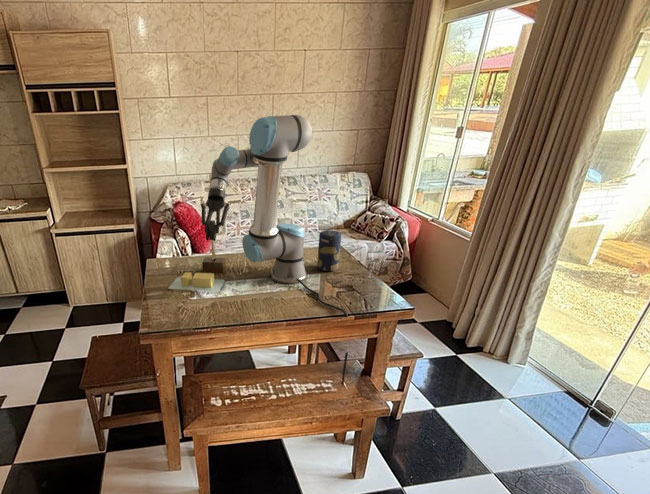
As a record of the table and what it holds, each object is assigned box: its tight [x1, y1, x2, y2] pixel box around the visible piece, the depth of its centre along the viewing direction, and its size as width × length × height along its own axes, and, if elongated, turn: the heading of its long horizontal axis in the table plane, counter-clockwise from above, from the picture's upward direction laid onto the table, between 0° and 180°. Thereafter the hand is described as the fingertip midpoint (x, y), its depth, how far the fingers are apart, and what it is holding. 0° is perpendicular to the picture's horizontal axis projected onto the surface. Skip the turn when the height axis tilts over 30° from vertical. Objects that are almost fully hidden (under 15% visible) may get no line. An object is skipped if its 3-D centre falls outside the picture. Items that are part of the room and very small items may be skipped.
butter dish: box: [168, 277, 225, 292], centre depth 175 cm, size 22×12×1 cm, turn 78°
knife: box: [208, 219, 216, 260], centre depth 181 cm, size 2×3×17 cm
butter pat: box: [180, 271, 193, 287], centre depth 174 cm, size 3×6×4 cm, turn 168°
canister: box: [316, 229, 342, 272], centre depth 182 cm, size 10×10×18 cm
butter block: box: [192, 272, 215, 288], centre depth 173 cm, size 8×6×4 cm
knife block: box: [201, 257, 227, 274], centre depth 187 cm, size 10×6×6 cm, turn 78°
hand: (210, 239), depth 176 cm, fingers closed on knife, 2 cm apart
